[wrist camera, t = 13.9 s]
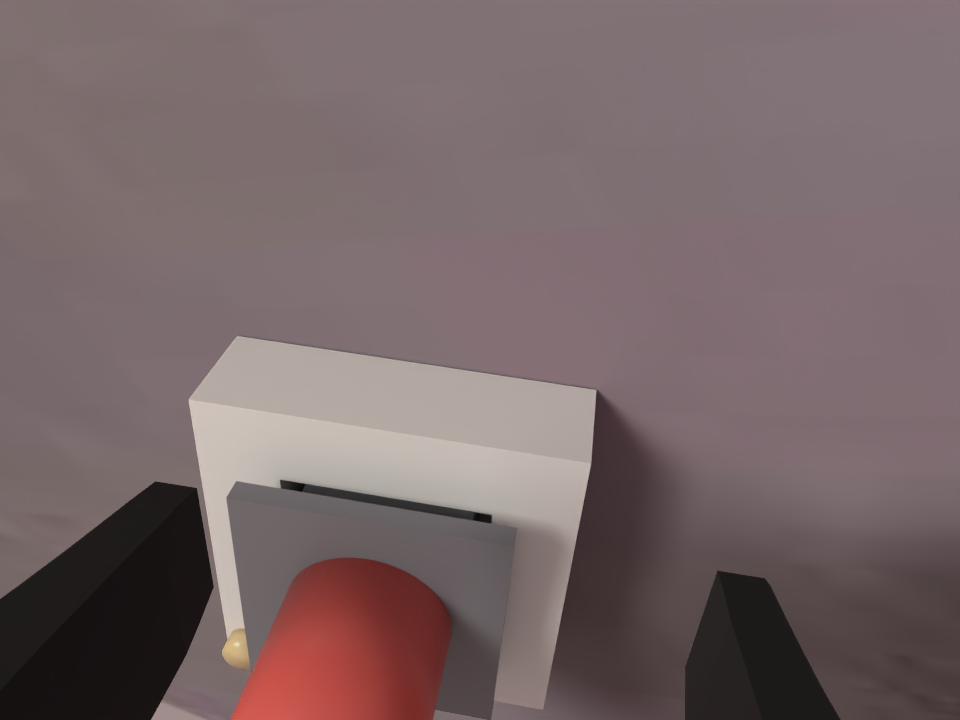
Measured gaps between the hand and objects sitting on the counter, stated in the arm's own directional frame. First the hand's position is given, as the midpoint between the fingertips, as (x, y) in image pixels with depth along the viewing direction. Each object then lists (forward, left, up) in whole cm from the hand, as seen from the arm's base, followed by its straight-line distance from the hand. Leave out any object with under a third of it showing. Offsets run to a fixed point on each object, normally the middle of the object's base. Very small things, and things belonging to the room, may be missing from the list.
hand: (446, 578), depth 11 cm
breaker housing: (+3, +9, -10) cm, 14 cm away
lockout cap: (+3, +9, -6) cm, 11 cm away
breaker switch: (+3, +9, -9) cm, 13 cm away
